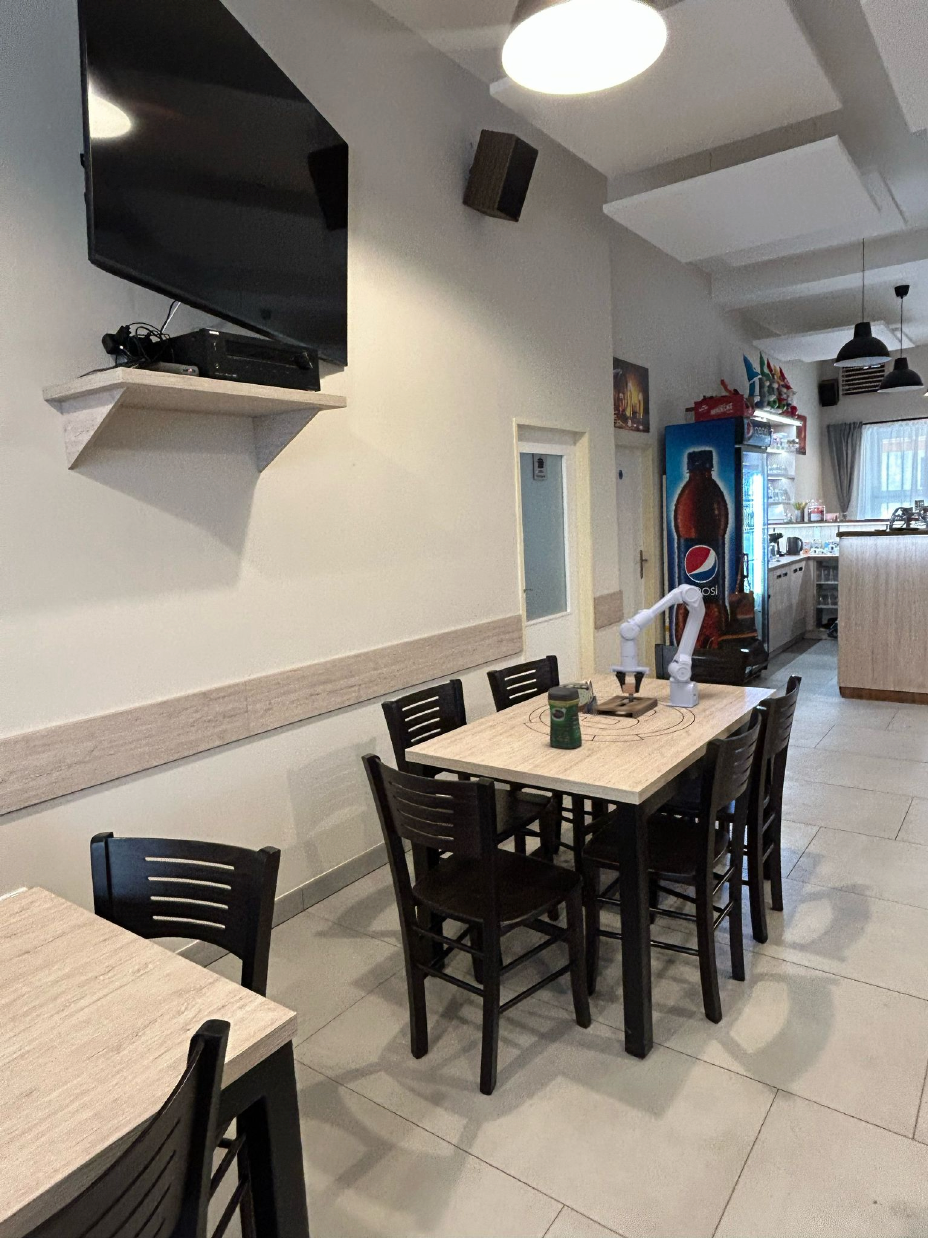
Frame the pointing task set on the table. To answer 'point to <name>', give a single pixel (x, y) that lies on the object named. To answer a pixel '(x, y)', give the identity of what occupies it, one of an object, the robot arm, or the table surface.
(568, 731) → the coffee jar
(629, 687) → the key peg
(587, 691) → the food container
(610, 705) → the keyhole plate
